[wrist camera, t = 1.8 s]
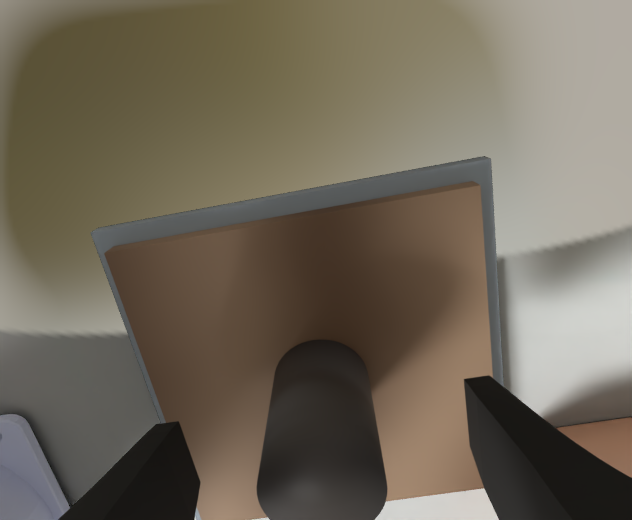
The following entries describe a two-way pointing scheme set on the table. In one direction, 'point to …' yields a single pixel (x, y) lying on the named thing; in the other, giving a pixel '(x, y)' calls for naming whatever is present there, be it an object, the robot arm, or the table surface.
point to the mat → (314, 200)
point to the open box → (606, 441)
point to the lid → (318, 352)
